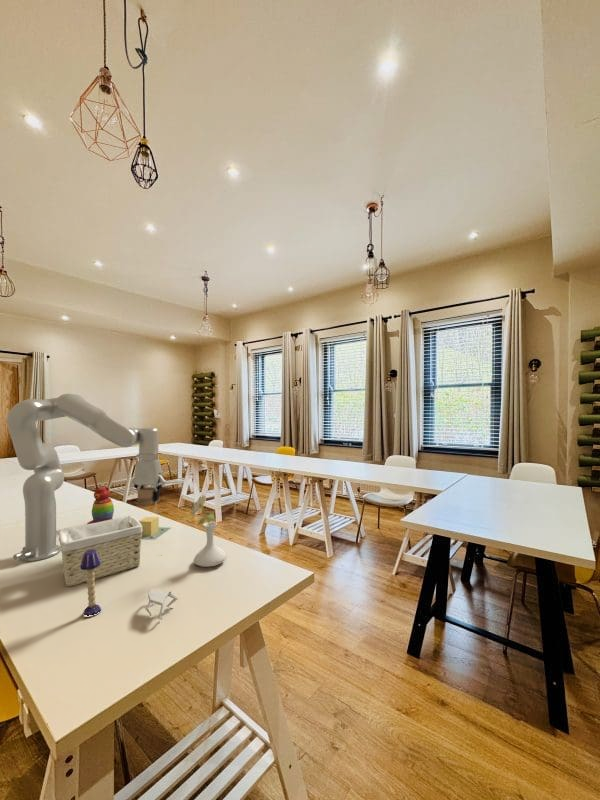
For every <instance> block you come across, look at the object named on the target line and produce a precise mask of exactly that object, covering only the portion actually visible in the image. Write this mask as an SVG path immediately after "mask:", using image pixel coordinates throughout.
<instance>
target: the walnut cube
mask: <svg viewBox="0 0 600 800" xmlns="http://www.w3.org/2000/svg"><path fill="white" fill-rule="evenodd" d="M153 492H154V488H153V486H149V485H145V486H144V488H141V489H139V490H138V491H137V505H141V506H143V505H144V506H151V505H154V504H156V503H158V502H160V499H159V500H157V501H153Z"/></svg>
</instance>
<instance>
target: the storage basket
mask: <svg viewBox="0 0 600 800" xmlns="http://www.w3.org/2000/svg"><path fill="white" fill-rule="evenodd" d="M139 521H140V520H138V519H137V518H135V517H134V516H132V515H128V516H124V517H117V518H116V517H115V518H112V519H111V520H106V521H102V522H97V523H92V524H87V523H85V524H82V525H75V526H72V527H66V528H61V529H60V530H59V531H58V541H59V546H61V551H60V552H61V557H62V564H63V565H62V566H63V568H62V569H63V571H62V572H63V576H64V577H63V578H64V580H65V585H66V586H67V587H72V586H78V585H81V584H84V583H86V582H87V580H88V578H87V574H88V572H87V570H82V569H81V568H80V567H81V562H82V558H83V555H84V553H85V552H86V551H88V550H96V551H97V553H98V556H99V559H100V565H99V566H98V567H96V568H94V579H95V580H97V579H99V578H102V577H105V576H110V575H113V574H116V573H119V572H122V571H126V570H129V569H133V568H136V567H139V566H140V565H141V547H142V545H141V544H142V539H141V537H142V531H143V530H142V525H141V523H140V522H139ZM77 584H78V585H77Z"/></svg>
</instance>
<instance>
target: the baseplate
mask: <svg viewBox="0 0 600 800" xmlns="http://www.w3.org/2000/svg"><path fill="white" fill-rule="evenodd" d="M171 529H172V527H164V526H163V527H159V531H157V532H156V533H154V534H153V535H152V536H144V535H142V537H141V540H149V541H152V540H157V539H158V538H160V537H161V536H162V535H164V534H165V533H167V532H168V531H169V530H171Z"/></svg>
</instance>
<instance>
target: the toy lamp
mask: <svg viewBox="0 0 600 800" xmlns="http://www.w3.org/2000/svg"><path fill="white" fill-rule="evenodd" d="M99 565H100V559H99V556H98V553H97V551H96V550H88V551H86V552H85V553H84V555H83V558H82V562H81V567H80V568H81V569H82V570H87V572H88V574H87V578H88V580H87V595H88V596H87V600H88V603H87V604H88V606H87V607H86V608H85V609H84V610H83V613H82V615H83V614H84V615H87V616H89V615H94V614H97V613H98V612H100V611H101V612H102V608H101V606H100V605H99V604H98V603H97V602H96V589H95V587H96V583H95V580H96V579H94V568H96V567H98V566H99ZM96 603H97V604H96ZM101 612H100V613H101ZM97 615H98V614H97Z"/></svg>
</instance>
